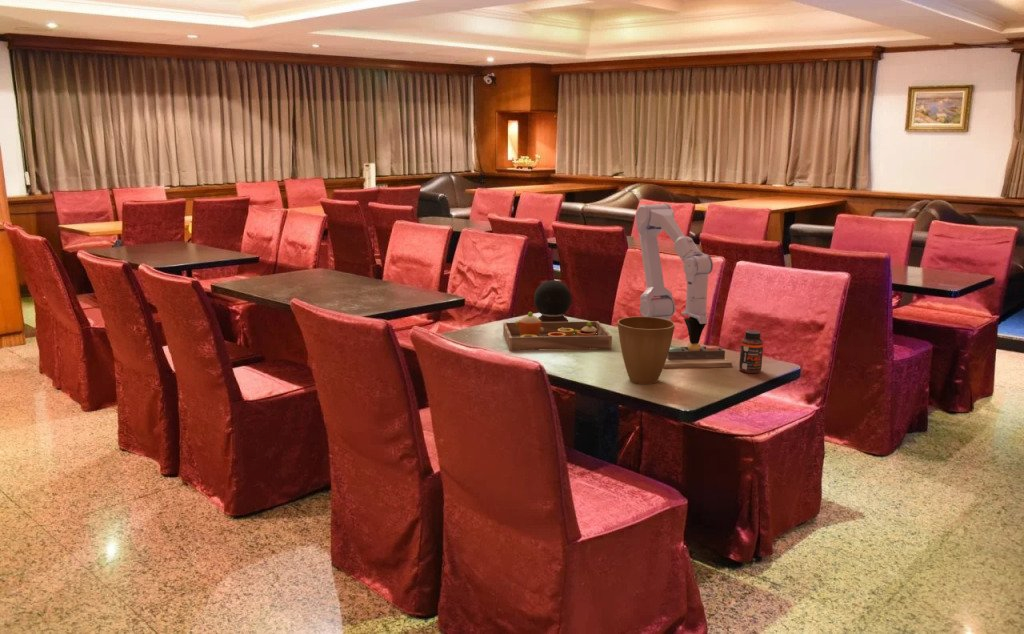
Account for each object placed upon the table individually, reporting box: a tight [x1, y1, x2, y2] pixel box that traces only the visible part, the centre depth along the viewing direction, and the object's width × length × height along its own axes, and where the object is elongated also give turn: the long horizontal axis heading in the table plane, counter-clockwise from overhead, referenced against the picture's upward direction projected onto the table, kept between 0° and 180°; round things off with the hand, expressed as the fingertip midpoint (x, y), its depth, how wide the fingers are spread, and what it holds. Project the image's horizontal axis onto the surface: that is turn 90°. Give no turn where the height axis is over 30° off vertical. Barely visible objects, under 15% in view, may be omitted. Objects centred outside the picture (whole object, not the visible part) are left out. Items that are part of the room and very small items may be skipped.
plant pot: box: [617, 315, 676, 385], centre depth 223 cm, size 15×15×16 cm
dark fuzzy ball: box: [533, 279, 573, 322], centre depth 293 cm, size 13×13×15 cm
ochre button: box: [687, 342, 701, 351], centre depth 244 cm, size 4×4×2 cm
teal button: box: [669, 346, 682, 351], centre depth 243 cm, size 4×4×2 cm
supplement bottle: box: [739, 329, 764, 374], centre depth 233 cm, size 6×6×11 cm
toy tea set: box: [515, 311, 597, 337], centre depth 265 cm, size 26×16×10 cm, turn 99°
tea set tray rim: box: [502, 320, 613, 352], centre depth 267 cm, size 22×32×4 cm
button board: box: [663, 345, 733, 369], centre depth 244 cm, size 14×20×4 cm
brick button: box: [706, 345, 720, 351], centre depth 245 cm, size 4×4×2 cm
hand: (694, 343), depth 243 cm, fingers closed
